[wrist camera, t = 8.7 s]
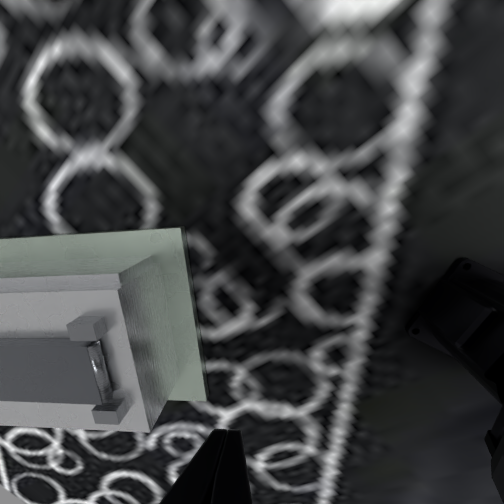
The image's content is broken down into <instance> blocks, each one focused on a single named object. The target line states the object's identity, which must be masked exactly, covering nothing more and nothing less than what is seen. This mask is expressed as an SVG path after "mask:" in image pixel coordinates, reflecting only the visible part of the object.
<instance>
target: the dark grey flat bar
mask: <svg viewBox="0 0 504 504" xmlns="http://www.w3.org/2000/svg"><path fill="white" fill-rule="evenodd" d="M113 396H114V395H113V391H112V387H111V384H110V380H109V376H108V372H107V368H106V364H105V361H104V357H103V353H102V349H101V345H100V342H99V340H97V341H71V340H70V338H0V401H13V402H39V403H65V404H90V405H103V404H104V403H106V402H108V401H110V400H111V399H112V398H113Z"/></svg>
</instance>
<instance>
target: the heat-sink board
mask: <svg viewBox="0 0 504 504" xmlns="http://www.w3.org/2000/svg"><path fill="white" fill-rule="evenodd" d="M0 338H70V340H71V341H97V340H99V342H100V345H101V349H102V353H103V357H104V361H105V364H106V368H107V372H108V376H109V380H110V384H111V387H112V391H113V395H114V396H113V398H112V399H111V400H110V401H108V402H106V403H104V404H103V405H90V404H65V403H39V402H13V401H0V425H7V426H27V427H48V428H69V429H89V430H110V431H130V432H150V431H151V430H152V428H153V426H154V424H155V422H156V420H157V418H158V416H159V415H160V413H161V411H162V409H163V407H164V405H165V403H166V401H167V400H184V401H207V398H208V396H209V389H208V382H207V376H206V369H205V362H204V355H203V349H202V342H201V335H200V328H199V321H198V315H197V308H196V301H195V294H194V287H193V281H192V274H191V267H190V260H189V254H188V247H187V240H186V233H185V226H179V227H163V228H147V229H132V230H116V231H101V232H85V233H69V234H54V235H38V236H23V237H7V238H0Z"/></svg>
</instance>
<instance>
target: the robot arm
mask: <svg viewBox="0 0 504 504" xmlns="http://www.w3.org/2000/svg"><path fill="white" fill-rule="evenodd" d="M465 263H467V266H466V267H465V268H463V265H464V264H465ZM415 328H417V329H416V330H415V331H412V330H413V329H415ZM406 331H407V333H408V334H409V335H410V336H411V337H413V338H415V339H417V340H419V341H421V342H423V343H425V344H427V345H429V346H431V347H433V348H435V349H437V350H439V351H441V352H444V353H446V354H448V355H450V356H452V357H454V358H456V359H457V360H458V361H459V362H460V363H461V364H462V365H463V366H464V367H465V368H466V369H467V370H468V371H469V372H470V373H471V374H472V375H473V376H474V377H475V378H476V379H477V380H478V381H479V382H480V383H481V384H482V385H483V386H484V387H485V388H486V389H487V390H488V391H489V392H490V393H491V394H492V395H493V396H494V397H495V398H496V399H497V400H498V401H499V402H500V403H501V404H502V405H503V406H502V408H501V410H500V412H499V414H498V417H497V419H496V421H495V423H494V425H493V427H492V430H488V431H487V434H486V436H485V438H484V440H485V442H486V445H487V447H488V449H489V452H490V454H491V456H492V459H491V472H492V479H493V481H494V483H495V485H496V488H497V490H498V492H499V494H500V497H501V499H502V501H503V503H504V276H503V275H501V274H499V273H497V272H495V271H493V270H491V269H489V268H487V267H485V266H483V265H481V264H479V263H477V262H475V261H473V260H471V259H468V258H460V259H458V260H457V261H456V262H455V264H454V265H453V266H452V267H451V269H450V270H449V271H448V273H447V274H446V275H445V277H444V278H443V279H442V280H441V281H440V282H439V284H438V285H437V286H436V287H435V289H434V290H433V291H432V293H431V294H430V295H429V297H428V298H427V299H426V300H425V302H424V303H423V304H422V306H421V307H420V308H419V310H418V312H417V313H416V314H415V316H414V317H413V318H412V319H411V321H410V322H409V323H408V325H407V326H406ZM159 504H252V497H251V491H250V484H249V478H248V471H247V465H246V458H245V452H244V445H243V439H242V432H241V430H234V429H230V430H228V431H227V430H226V429H214V430H213V431H212V432H211V433H210V435H209V436H208V438H207V439H206V440H205V442H204V443H203V444H202V446H201V447H200V449H199V450H198V451H197V453H196V454H195V455H194V457H193V458H192V460H191V461H190V462H189V464H188V465H187V466H186V468H185V469H184V471H183V472H182V473H181V475H180V476H179V477H178V479H177V480H176V482H175V483H174V484H173V486H172V487H171V488H170V490H169V491H168V492H167V494H166V495H165V497H164V498H163V499H162V501H161V502H160V503H159Z"/></svg>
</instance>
